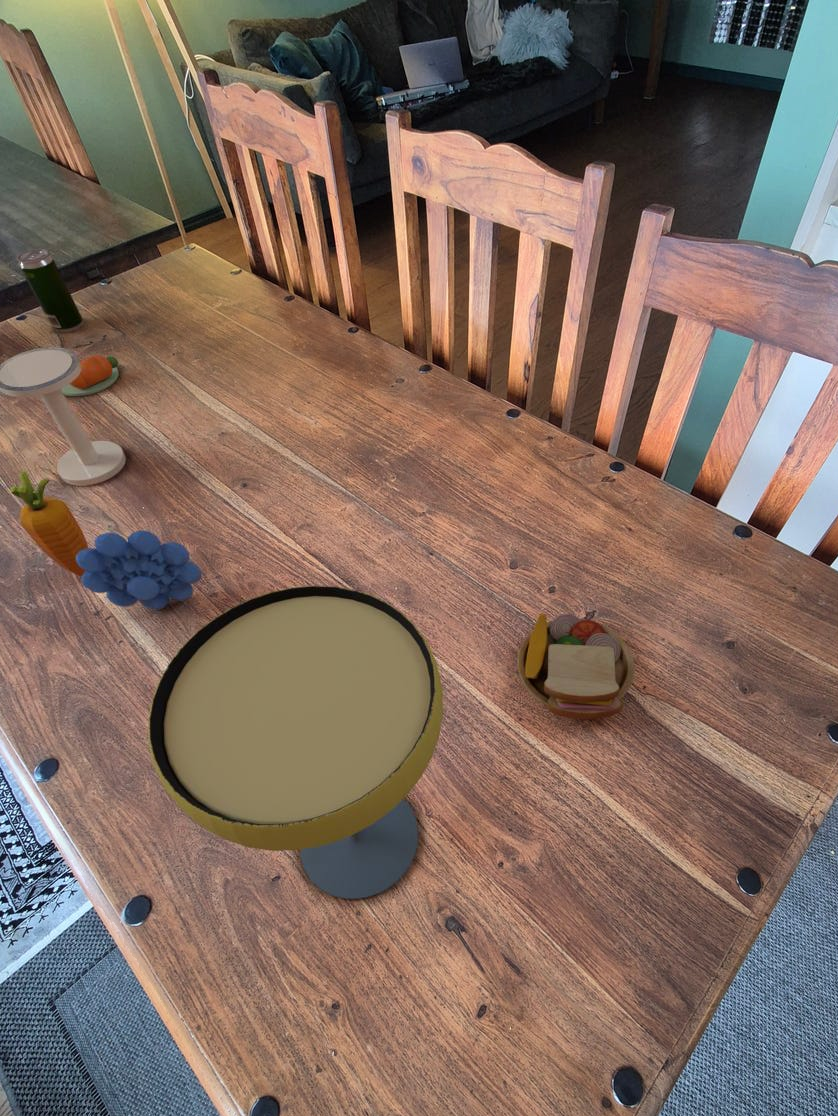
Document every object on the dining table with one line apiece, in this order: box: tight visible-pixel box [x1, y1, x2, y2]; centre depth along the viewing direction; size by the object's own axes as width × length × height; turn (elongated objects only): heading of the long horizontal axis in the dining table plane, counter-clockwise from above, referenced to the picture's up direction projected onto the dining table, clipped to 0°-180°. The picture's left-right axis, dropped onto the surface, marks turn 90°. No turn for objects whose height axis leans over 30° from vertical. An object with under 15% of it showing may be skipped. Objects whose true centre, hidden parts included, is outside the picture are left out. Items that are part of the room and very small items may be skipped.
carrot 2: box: [70, 354, 119, 389], centre depth 106 cm, size 8×4×4 cm
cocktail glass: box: [147, 585, 444, 900], centre depth 51 cm, size 18×18×25 cm
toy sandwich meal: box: [516, 613, 635, 720], centre depth 70 cm, size 12×14×5 cm
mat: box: [61, 366, 120, 397], centre depth 108 cm, size 10×10×1 cm
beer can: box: [16, 248, 84, 334], centre depth 115 cm, size 5×5×12 cm
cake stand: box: [0, 346, 127, 487], centre depth 89 cm, size 10×10×15 cm
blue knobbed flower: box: [76, 529, 202, 611], centre depth 73 cm, size 12×7×12 cm, turn 112°
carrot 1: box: [10, 471, 89, 577], centre depth 75 cm, size 5×5×15 cm
